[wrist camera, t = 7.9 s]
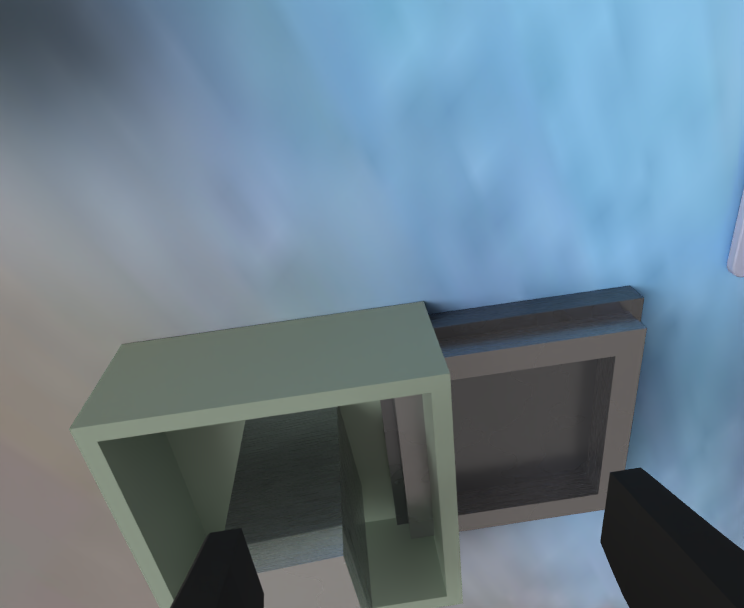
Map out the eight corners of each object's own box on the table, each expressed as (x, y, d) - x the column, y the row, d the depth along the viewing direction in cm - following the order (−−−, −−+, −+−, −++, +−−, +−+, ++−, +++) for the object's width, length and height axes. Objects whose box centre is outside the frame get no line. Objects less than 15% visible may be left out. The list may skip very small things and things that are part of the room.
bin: (423, 301, 20) (449, 373, 16) (439, 509, 25) (462, 603, 21) (121, 344, 19) (69, 429, 15) (203, 545, 25) (180, 647, 21)
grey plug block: (336, 396, 21) (343, 555, 14) (361, 486, 23) (377, 655, 17) (246, 415, 21) (214, 582, 14) (281, 502, 23) (266, 677, 17)
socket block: (629, 285, 20) (663, 313, 18) (605, 475, 25) (629, 513, 23) (369, 323, 20) (374, 355, 18) (394, 507, 25) (400, 548, 23)
